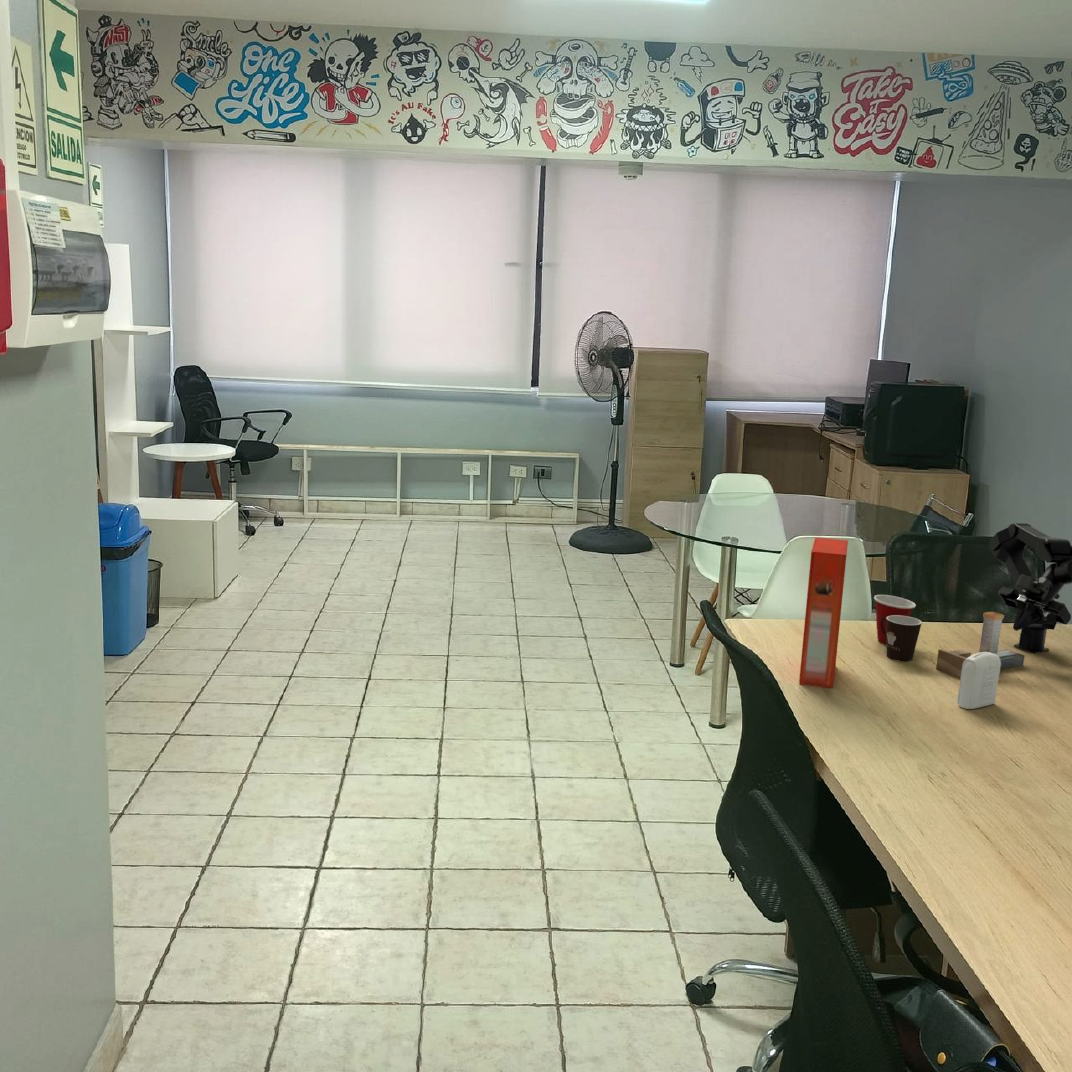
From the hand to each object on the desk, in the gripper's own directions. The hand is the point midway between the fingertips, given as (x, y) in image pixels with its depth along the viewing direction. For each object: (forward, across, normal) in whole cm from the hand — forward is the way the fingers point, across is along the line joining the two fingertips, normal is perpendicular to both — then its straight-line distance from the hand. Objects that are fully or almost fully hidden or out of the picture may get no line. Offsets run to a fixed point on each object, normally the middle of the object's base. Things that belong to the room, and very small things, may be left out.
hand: (1014, 629), depth 279 cm
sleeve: (+10, +1, +3) cm, 10 cm away
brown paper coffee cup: (+24, -14, -11) cm, 30 cm away
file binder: (+46, -10, -33) cm, 57 cm away
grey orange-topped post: (+10, +1, +1) cm, 11 cm away
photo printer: (+31, +19, -18) cm, 40 cm away
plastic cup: (+19, -24, -6) cm, 31 cm away
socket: (+19, +1, -7) cm, 20 cm away
